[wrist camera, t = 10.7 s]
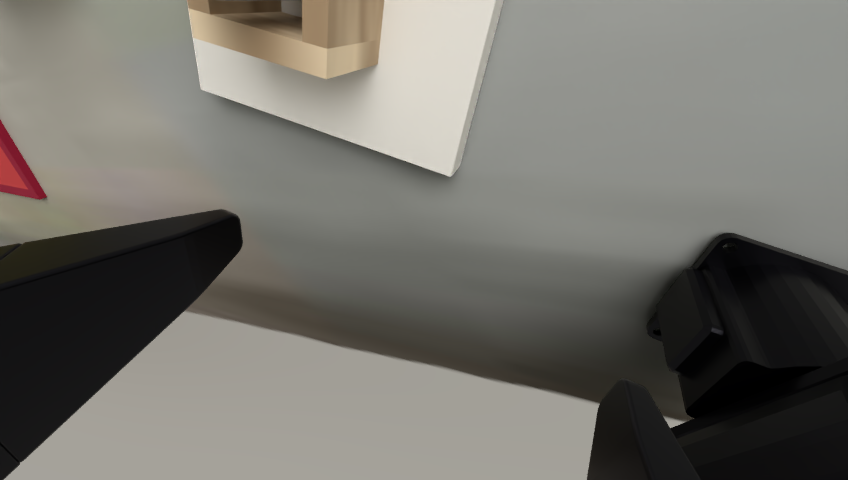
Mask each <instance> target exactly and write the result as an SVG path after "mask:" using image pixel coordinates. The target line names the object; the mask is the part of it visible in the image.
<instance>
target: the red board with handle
mask: <svg viewBox="0 0 848 480" xmlns="http://www.w3.org/2000/svg"><path fill="white" fill-rule="evenodd" d="M0 191H1V192H6V193H10V194H15V195H20V196H25V197H30V198H35V199H43V198H45V197H47V196H46V194H45V193H44V191H43V189H42V188H41V186H40V184H39V183H38V181H37V180H36V178H35V176H34V175H33V173H32V171H31V170H30V168H29V166H28V165H27V163H26V161H25V160H24V158H23V157H22V155H21V153H20V152H19V150H18V148H17V147H16V145H15V143H14V142H13V140H12V138H11V137H10V135H9V133H8V132H7V130H6V129H5V127H4V125H3V124H2V122H1V120H0Z"/></svg>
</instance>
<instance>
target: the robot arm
mask: <svg viewBox="0 0 848 480" xmlns="http://www.w3.org/2000/svg"><path fill="white" fill-rule="evenodd" d="M726 243H735V244H734V245H733V246H732V247H730V248H723V246H724V245H725V244H726ZM242 244H243V240H242V232H241V223H240V219H239V217H238V216H237V215H236V214H234V213H231V212H229V211H226V210H223V209H219V210H213V211H207V212H201V213H195V214H189V215H183V216H178V217H172V218H166V219H160V220H154V221H148V222H142V223H137V224H131V225H125V226H119V227H113V228H107V229H101V230H95V231H90V232H84V233H78V234H72V235H66V236H60V237H54V238H48V239H43V240H37V241H31V242H25V243H23V244H13V245H7V246H1V247H0V480H4V479H5V478H6V477H7V476H8V475H9V474H10V473H11V472H12V471H13V470H14V469H15V468H17V467H18V466H19V465H20V462H22V461H24V460H25V459H26V458H27V457H28V456H29V455H30V454H31V453H32V452H33V451H34V450H35V449H37V448H38V446H40V445H41V444H42V443H43V442H44V441H45V440H46V439H47V438H48V437H49V436H50V435H52V434H53V433H54V432H55V431H56V430H57V429H58V428H59V427H60V426H61V425H62V424H63V423H64V422H66V421H67V420H68V419H69V418H70V417H71V416H72V415H73V414H74V413H75V412H76V411H77V410H78V409H79V408H81V407H82V406H83V405H84V404H85V403H86V402H87V401H88V400H89V399H90V398H91V397H92V396H93V395H95V394H96V393H97V392H98V391H99V390H100V389H101V388H102V387H103V386H104V385H105V384H106V383H107V382H108V381H109V380H111V379H112V378H113V377H114V376H115V375H116V374H117V373H118V372H119V371H120V370H121V369H122V368H123V367H125V366H126V365H127V364H128V363H129V362H130V361H131V360H132V359H133V358H134V357H135V356H136V355H137V354H139V352H141V351H142V350H143V349H144V348H145V347H146V346H147V345H148V344H149V343H150V342H151V341H153V340H154V339H155V338H156V337H157V336H158V335H159V334H160V333H161V332H162V331H163V330H164V329H165V328H166V327H168V326H169V325H170V324H171V323H172V322H173V321H174V320H175V319H176V318H177V317H178V316H179V315H180V314H181V313H183V312H184V311H185V310H186V309H187V308H188V307H189V306H190V305H191V304H192V303H193V302H194V301H195V300H196V299H197V298H198V297H199V296H200V295H201V294H202V293H203V292H204V291H205V290H206V289H207V288H208V286H209V285H210V284H211V283H212V282H213V281H214V280H215V278H216V277H217V276H218V275H219V274H220V273H221V272H222V271H223V269H224V268H225V267H226V266H227V265H228V264H229V263H230V261H231V260H232V259H233V258H234V257H235V256H236V255H237V254H238V252H239V251H240V249H241V247H242ZM656 309H657V312H656V313H655V314H654V316H653V317H652V318H651V319H650V321H649V322H648V323H647V331H648V334H649V336H650V337H652V338H654V339H657V340H659V341H662V342H663V346H664V352H665V357H666V363H667V366H668V368H669V370H670V371H671V372H673V373H676V374H678V377H679V382H680V387H681V391H682V396H683V401H684V406H685V410H686V413H687V415H689V416H690V417H693V418H695V419H692V420H690V421H688V422H685V423H683V424H680V425H678V426H675V427H673V428H670V427H669V426H668V424H667V422H666V421H665V419H664V417H663V416H662V414H661V412H660V411H659V409H658V407H657V406H656V404H655V402H654V401H653V399H652V397H651V396H650V394H649V392H648V391H647V390H646V388H645V387H643V386H642V385H639V384H637V383H635V382H632V381H630V380H628V379H620V380H619V381H618V382H617V383H616V384H615V385H614V386H613V387H612V389H611V390H610V391H609V392H608V393H607V395H606V396H605V397H604V398H603V399H602V401H601V403H600V405H599V408H598V412H597V419H596V425H595V432H594V438H593V444H592V450H591V457H590V463H589V469H588V476H587V480H848V271H846V270H843V269H840V268H837V267H834V266H831V265H828V264H825V263H822V262H819V261H816V260H813V259H810V258H807V257H804V256H801V255H798V254H795V253H792V252H789V251H786V250H783V249H780V248H777V247H774V246H771V245H768V244H765V243H762V242H759V241H756V240H753V239H750V238H747V237H743V236H740V235H737V234H734V233H724V234H722V235H719V236H718V237H717V238H716V239H715V240H714V241H713V242H712V243H711V245H710V246H709V247H708V248H707V250H706V251H705V252H704V253H703V255H702V256H701V257H700V258H699V260H698V261H697V262H696V263H695V265H694V266H693V267H692V268H689V269H686V270H684V271H683V273H682V274H681V275H680V276H679V278H678V279H677V280H676V281H675V283H674V284H673V285H672V286H671V288H670V289H669V290H668V291H667V293H666V294H665V295H664V297H663V298H662V299H661V300H660V302H659V303H658V304H657V306H656ZM656 328H660V330H654V329H656Z"/></svg>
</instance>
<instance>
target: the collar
mask: <svg viewBox="0 0 848 480" xmlns="http://www.w3.org/2000/svg"><path fill="white" fill-rule="evenodd" d="M187 2H188V8H189V15H190V21H191V27H192V33H193V38H196V39H199V40H202V41H205V42H208V43H212V44H215V45H218V46H221V47H224V48H228V49H231V50H234V51H237V52H240V53H244V54H247V55H250V56H253V57H256V58H260V59H263V60H266V61H269V62H272V63H276V64H279V65H282V66H285V67H288V68H292V69H295V70H298V71H301V72H304V73H308V74H311V75H314V76H317V77H321V78H324V79H329V78H333V77H336V76H340V75H343V74H346V73H350V72H353V71H357V70H360V69H364V68H367V67H370V66H374V65H377V64H378V58H379V48H380V39H381V29H382V19H383V9H384V0H302V17H298V16H295V15H291V14H288V13H284V12H282V7H281V1H220V0H187Z"/></svg>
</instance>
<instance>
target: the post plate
mask: <svg viewBox="0 0 848 480" xmlns="http://www.w3.org/2000/svg"><path fill="white" fill-rule="evenodd" d="M220 1H281V7H282V12H284V13H288V14H291V15H295V16H298V17H302V0H220ZM503 1H504V0H384V9H383V19H382V29H381V39H380V48H379V58H378V64H377V65H374V66H370V67H367V68H364V69H360V70H357V71H353V72H350V73H346V74H343V75H340V76H336V77H333V78H329V79H324V78H321V77H317V76H314V75H311V74H308V73H304V72H301V71H298V70H295V69H292V68H288V67H285V66H282V65H279V64H276V63H272V62H269V61H266V60H263V59H260V58H256V57H253V56H250V55H247V54H244V53H240V52H237V51H234V50H231V49H228V48H224V47H221V46H218V45H215V44H212V43H208V42H205V41H202V40H199V39H196V38H193V42H194V48H195V55H196V61H197V67H198V74H199V80H200V86H201V90H204V91H207V92H210V93H213V94H216V95H218V96H221V97H224V98H227V99H230V100H233V101H236V102H238V103H241V104H244V105H247V106H250V107H253V108H256V109H258V110H261V111H264V112H267V113H270V114H273V115H275V116H278V117H281V118H284V119H287V120H290V121H293V122H295V123H298V124H301V125H304V126H307V127H310V128H312V129H315V130H318V131H321V132H324V133H327V134H330V135H332V136H335V137H338V138H341V139H344V140H347V141H350V142H352V143H355V144H358V145H361V146H364V147H367V148H369V149H372V150H375V151H378V152H381V153H384V154H387V155H389V156H392V157H395V158H398V159H401V160H404V161H406V162H409V163H412V164H415V165H418V166H421V167H424V168H426V169H429V170H432V171H435V172H438V173H441V174H443V175H446V176H449V177H451V176H452V175H453V174H454V173H455V171H456V170H457V169H458V168H459V167H460V164H461V160H462V156H463V152H464V149H465V145H466V141H467V137H468V134H469V130H470V126H471V122H472V118H473V115H474V111H475V107H476V103H477V100H478V96H479V92H480V88H481V85H482V81H483V77H484V73H485V69H486V66H487V62H488V58H489V54H490V51H491V47H492V43H493V39H494V35H495V32H496V28H497V24H498V20H499V17H500V13H501V9H502V5H503ZM187 4H188V2H187ZM188 10H189V8H188ZM189 17H190V15H189ZM190 23H191V21H190ZM191 29H192V27H191ZM192 36H193V33H192Z"/></svg>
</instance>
